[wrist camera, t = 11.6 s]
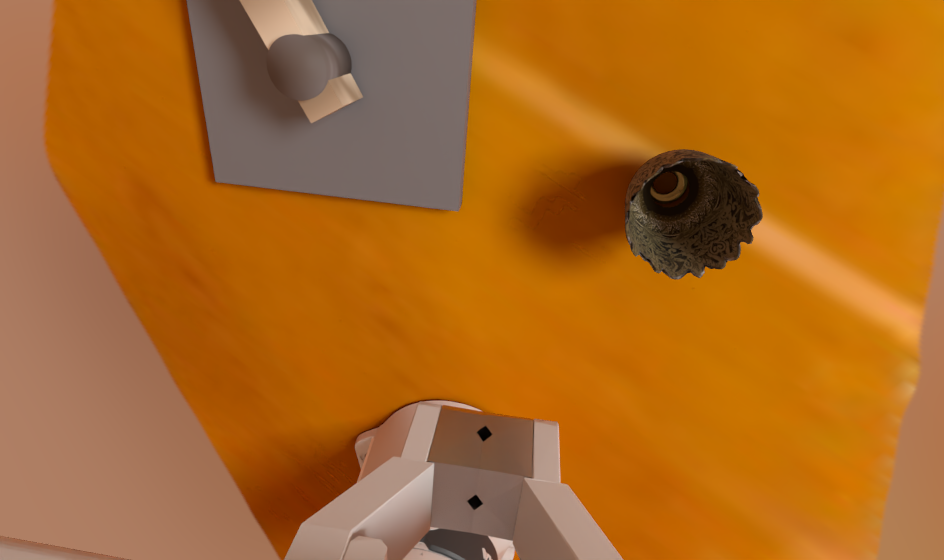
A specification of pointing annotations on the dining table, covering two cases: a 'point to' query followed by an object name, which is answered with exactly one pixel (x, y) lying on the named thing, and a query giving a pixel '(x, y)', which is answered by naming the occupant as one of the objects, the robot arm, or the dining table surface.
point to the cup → (690, 213)
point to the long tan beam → (304, 56)
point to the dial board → (356, 125)
